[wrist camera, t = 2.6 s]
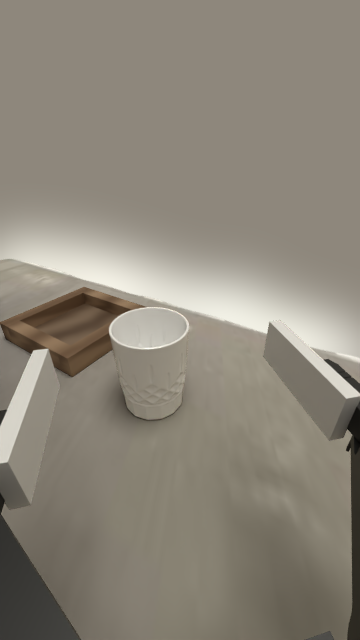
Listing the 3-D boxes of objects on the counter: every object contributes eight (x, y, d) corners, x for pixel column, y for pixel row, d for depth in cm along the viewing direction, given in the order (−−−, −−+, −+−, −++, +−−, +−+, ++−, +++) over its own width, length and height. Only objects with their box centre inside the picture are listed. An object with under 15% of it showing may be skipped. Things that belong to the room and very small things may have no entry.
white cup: (107, 396, 32) (93, 324, 27) (158, 366, 37) (155, 300, 32) (148, 439, 27) (141, 360, 22) (201, 398, 32) (205, 325, 27)
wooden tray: (5, 338, 42) (-1, 322, 41) (86, 300, 54) (84, 286, 52) (72, 377, 35) (67, 358, 33) (149, 323, 46) (148, 307, 45)
